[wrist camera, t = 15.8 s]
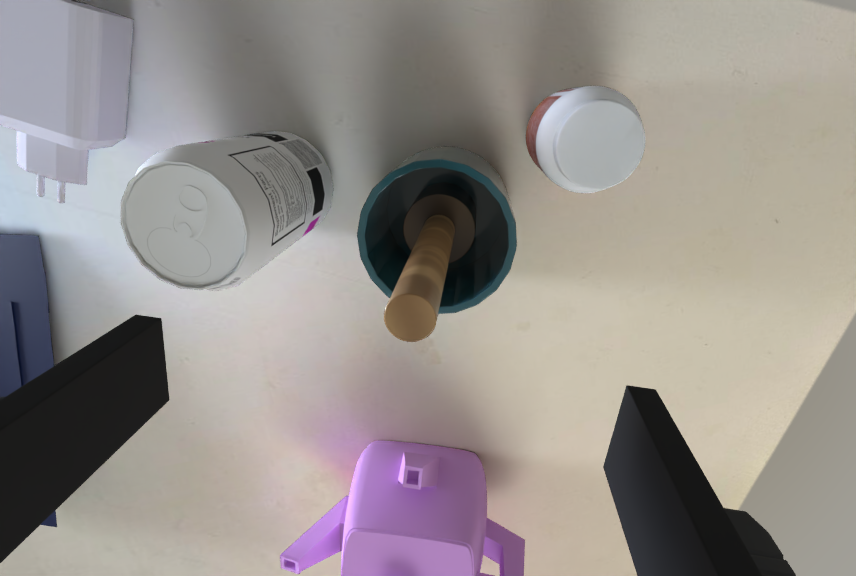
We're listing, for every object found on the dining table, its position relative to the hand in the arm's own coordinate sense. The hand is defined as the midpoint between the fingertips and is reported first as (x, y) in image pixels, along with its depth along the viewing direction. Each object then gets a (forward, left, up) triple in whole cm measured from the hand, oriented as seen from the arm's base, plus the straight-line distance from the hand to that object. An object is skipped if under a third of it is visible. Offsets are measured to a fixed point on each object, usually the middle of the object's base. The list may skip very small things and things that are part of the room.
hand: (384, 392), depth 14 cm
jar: (0, +1, -28) cm, 28 cm away
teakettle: (+14, +26, -28) cm, 40 cm away
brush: (+1, +1, -27) cm, 27 cm away
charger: (+24, -19, -28) cm, 41 cm away
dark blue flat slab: (+51, -3, -28) cm, 59 cm away
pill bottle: (-10, -1, -28) cm, 30 cm away
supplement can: (+11, -6, -28) cm, 31 cm away
